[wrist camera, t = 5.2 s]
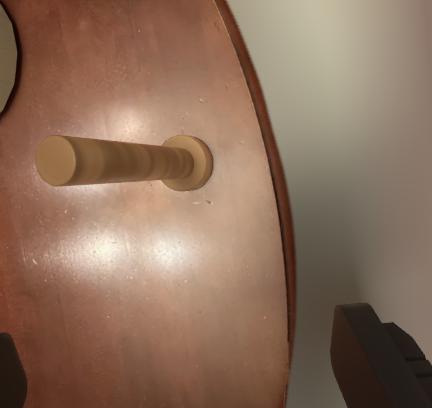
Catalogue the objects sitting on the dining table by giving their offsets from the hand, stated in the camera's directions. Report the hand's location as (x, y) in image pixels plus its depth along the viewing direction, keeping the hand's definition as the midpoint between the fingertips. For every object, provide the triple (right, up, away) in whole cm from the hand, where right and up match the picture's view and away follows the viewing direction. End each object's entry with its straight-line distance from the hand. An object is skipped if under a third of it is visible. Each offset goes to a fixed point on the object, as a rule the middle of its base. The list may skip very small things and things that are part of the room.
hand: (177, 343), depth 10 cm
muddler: (-1, +7, +22) cm, 24 cm away
